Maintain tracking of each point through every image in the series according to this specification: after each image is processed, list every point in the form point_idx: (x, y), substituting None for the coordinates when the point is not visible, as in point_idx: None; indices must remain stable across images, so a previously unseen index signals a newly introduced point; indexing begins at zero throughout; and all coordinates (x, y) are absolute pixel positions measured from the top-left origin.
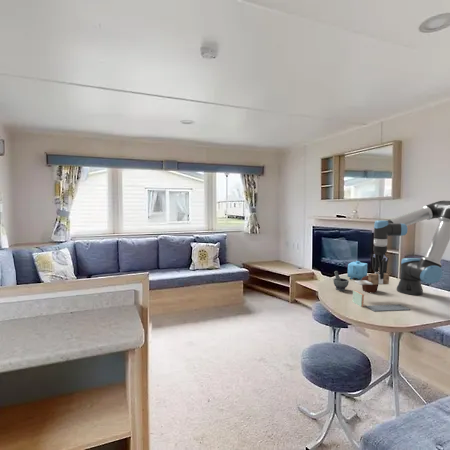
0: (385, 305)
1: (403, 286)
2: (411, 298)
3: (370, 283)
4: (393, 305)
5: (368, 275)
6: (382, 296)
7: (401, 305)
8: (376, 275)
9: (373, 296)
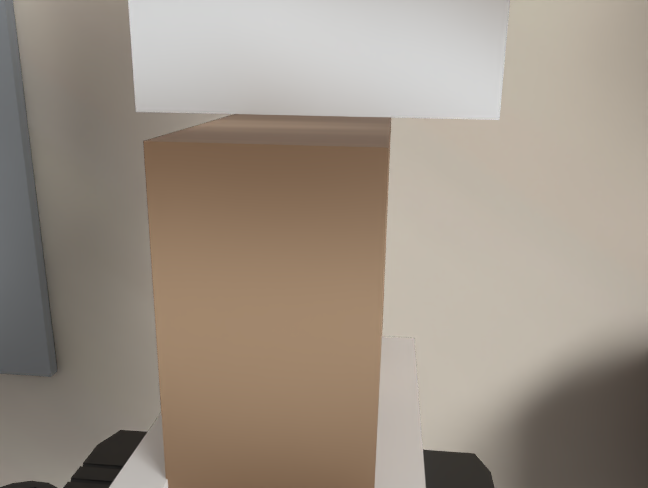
0: (2, 141)
1: None
2: None
3: (131, 27)
4: (6, 258)
5: (375, 140)
6: (452, 411)
7: (12, 365)
8: (171, 382)
9: (477, 275)
